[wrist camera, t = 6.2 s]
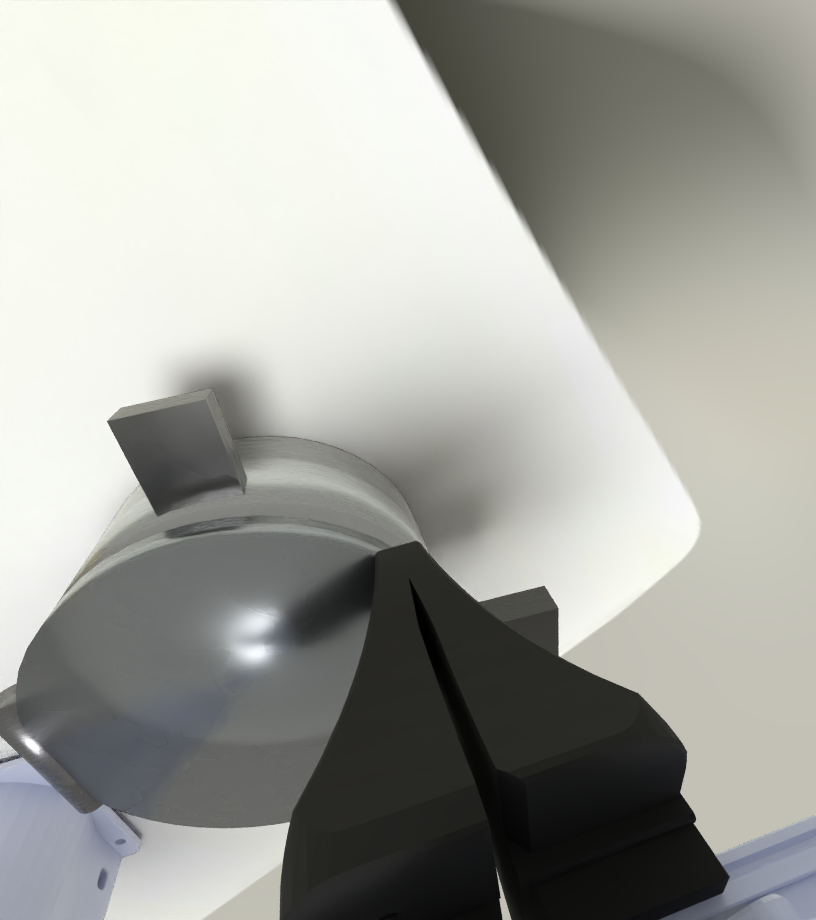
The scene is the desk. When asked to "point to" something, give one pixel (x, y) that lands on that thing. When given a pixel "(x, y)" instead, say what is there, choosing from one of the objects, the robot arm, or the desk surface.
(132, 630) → the lid
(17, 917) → the robot arm
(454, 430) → the desk surface
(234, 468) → the pot
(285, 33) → the desk surface
